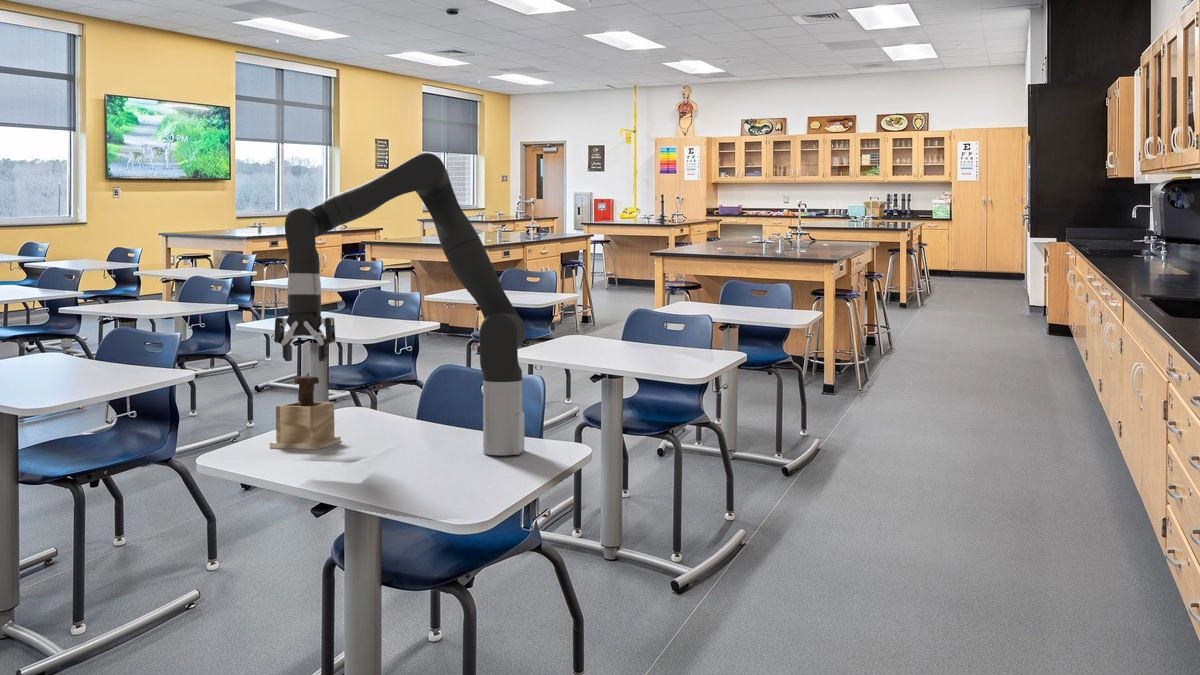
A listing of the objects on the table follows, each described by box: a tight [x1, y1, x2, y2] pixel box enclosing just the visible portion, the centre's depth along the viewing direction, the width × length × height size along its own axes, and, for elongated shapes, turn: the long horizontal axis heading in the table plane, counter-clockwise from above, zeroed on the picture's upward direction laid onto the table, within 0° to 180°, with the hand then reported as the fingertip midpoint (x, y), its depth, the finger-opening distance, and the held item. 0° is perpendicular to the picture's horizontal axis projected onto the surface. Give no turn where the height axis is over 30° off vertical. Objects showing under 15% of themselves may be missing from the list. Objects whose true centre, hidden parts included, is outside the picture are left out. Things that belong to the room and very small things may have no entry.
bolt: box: [293, 375, 320, 406], centre depth 207 cm, size 6×5×15 cm
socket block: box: [269, 401, 342, 450], centre depth 207 cm, size 12×12×10 cm
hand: (305, 361), depth 207 cm, fingers open, 8 cm apart
